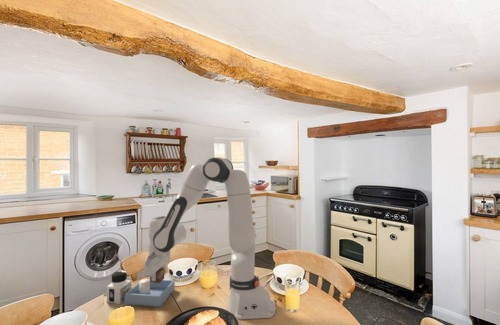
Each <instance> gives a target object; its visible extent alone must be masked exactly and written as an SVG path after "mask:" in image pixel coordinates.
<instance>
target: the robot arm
mask: <svg viewBox="0 0 500 325" xmlns="http://www.w3.org/2000/svg"><path fill="white" fill-rule="evenodd" d="M210 181H212V182H215V183H216V182H217V183H220V184H224V185H225V188H226V189H225V191H226V199H227V200H226V201H227V209H228V237H229V238H228V241H229V246H230V248H231V257H230V276H229V290H230V291H229V297H228V301H227V304H226V308H227V310H228V312H229V313H230V314H232V315H233V316H235V318H236V319H237V320H255V319H256V320H257V319H271V318H273V317H274V316H275V315H276V314H275V313H276V309H277V308H276V306H277V305H276V302H275V301H274V299H273V298H271V294H270V291H269V290H268V289H267V288H265V287H264V286H263V285H261V284H260V279H259V276H256V275H255V270H256V269H255V266H256V265H255V262H256V260H255V258H256V257H255V256H256V226H255V225H254V221H253V206H252V205H253V204H252V196H251V189H250V188H251V187H250V184H249V179H248V176H247V173H246V172H245V171H244V170H241V169H234V165H233V163H232V162H231V161H230V160H229V159H227V158H224V157H219V156H217V157H210V158H208V159H206V161H205V162H204V164H202V163H201V164H200V163H195V164H193V165H191V167H190V168H189V170H188V171H187V173H186V175H185V177H184V179H183V182H182V184H181V186H180V189H179V192H178V193H177V196H176V197H175V200H174V201H173V204H172V205H171V207H170V209H169V211H168V213H167V215H166V216H164V215H163V216H157V217H153V218H151V220H150V222H149V223H148V224H149V226H148V239H149V241H148V244H147V245H148V247H147V248H148V250H147V251H148V252H147V254H148V256H147V258H146V259H145V261H144V264H143V275H144V277H149V278H150V276H151V277H152V281H155V280H156V279H157V276H156V275H155V274H156V272H157V271H158V270H159V269H160V268H164V269H165V265H166V264H167V263H168V262H169V261H170V259H171V250H172V249H173V248H174V247H176V246H177V245H179V244H180V243H181V242H182V241H184V240H185V239H186V236H187V230H186V228H185V226H184V225H183V224H181V223H180V222H181V221H182V218H183V216H184V215H185V214H186V213H187V211H188V210H190V209H191V208H193V207H194V206H195V205H197V204H198V203H199V202H200V200H201V198H202V197H203V195H204V193H205V191H206V188H207V186H208V184H209V182H210Z"/></svg>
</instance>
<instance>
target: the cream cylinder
mask: <svg viewBox="0 0 500 325" xmlns="http://www.w3.org/2000/svg"><path fill="white" fill-rule="evenodd" d="M138 282H139V294H146V295H150V278H144V279H143V278H141V279H140V280H139V281H138Z"/></svg>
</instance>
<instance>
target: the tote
mask: <svg viewBox="0 0 500 325" xmlns="http://www.w3.org/2000/svg"><path fill="white" fill-rule="evenodd" d="M142 279H145V278H142ZM175 285H176V283H175V280H171V279H163V280H162V281H161V282H160V283H150V295H146V294H139V281H137V283H136V284H134V285H133V286H131V289H130V290H129V291H128V292H127V293H125V301H124V305H127V306H136V307H137V306H138V307H152V308H161V307H162V306H163V304H164V303H166V301H167V300H168V299H169V298H170V297H171V295H172V294H173V292H174V291H175V289H176V288H175Z"/></svg>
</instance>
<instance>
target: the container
mask: <svg viewBox="0 0 500 325" xmlns="http://www.w3.org/2000/svg"><path fill="white" fill-rule="evenodd" d="M127 275H128V273H127V271H126V270H117V271H115V272H113V273H112V274H111V283H110V284H108V285H107V286H106V303H111V304H116V305H120V304H122V303H123V302H125V293H127V292H128V291H129V290H130V289H131V288H132V280H128V279H127V278H128V276H127Z"/></svg>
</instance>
